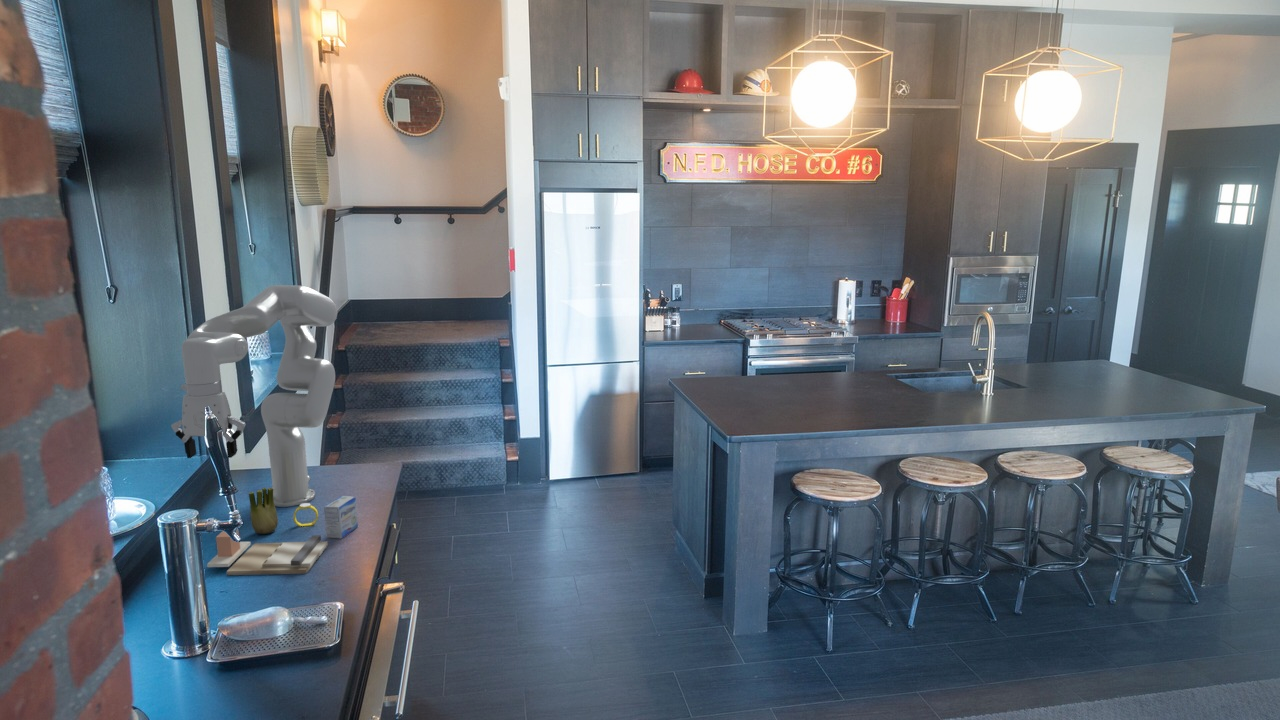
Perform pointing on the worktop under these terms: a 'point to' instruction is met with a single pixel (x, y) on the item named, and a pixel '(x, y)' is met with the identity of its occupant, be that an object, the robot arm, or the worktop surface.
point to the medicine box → (340, 517)
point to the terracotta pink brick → (227, 550)
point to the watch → (305, 506)
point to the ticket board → (279, 558)
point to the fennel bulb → (263, 511)
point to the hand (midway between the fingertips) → (212, 456)
